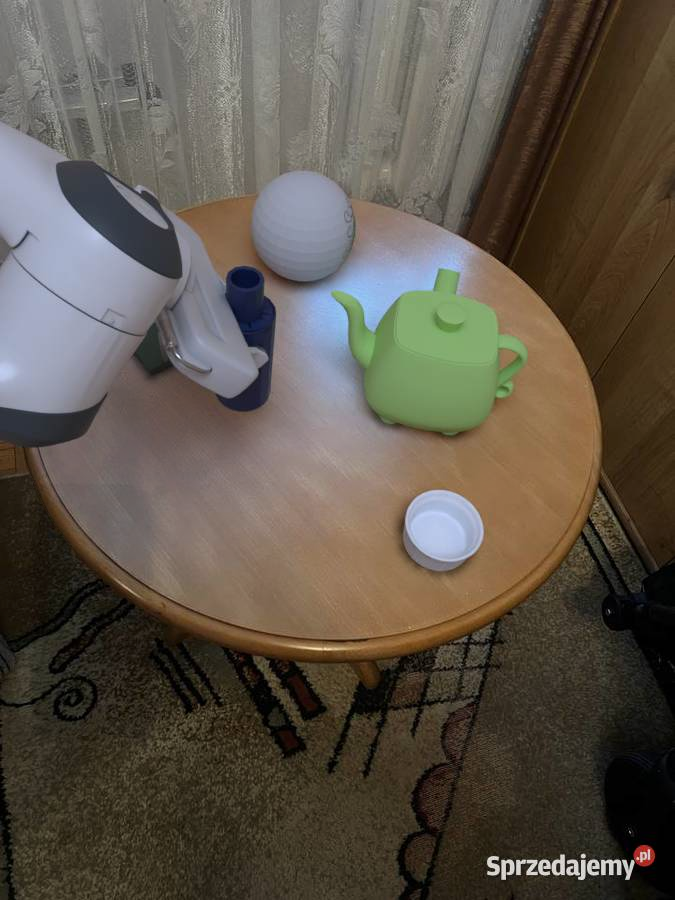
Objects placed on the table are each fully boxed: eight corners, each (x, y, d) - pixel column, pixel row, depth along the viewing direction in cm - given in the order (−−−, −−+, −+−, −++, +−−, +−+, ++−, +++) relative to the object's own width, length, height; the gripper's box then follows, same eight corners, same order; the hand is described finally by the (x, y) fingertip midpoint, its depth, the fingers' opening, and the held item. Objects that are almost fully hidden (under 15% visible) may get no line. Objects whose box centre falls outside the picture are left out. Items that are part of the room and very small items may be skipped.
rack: (150, 376, 84) (144, 342, 79) (106, 319, 89) (98, 283, 84) (242, 335, 90) (241, 300, 85) (196, 283, 95) (193, 247, 90)
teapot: (500, 341, 96) (541, 254, 83) (500, 461, 83) (547, 380, 70) (333, 308, 95) (347, 216, 82) (308, 424, 83) (320, 336, 70)
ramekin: (485, 564, 75) (498, 547, 71) (416, 586, 72) (425, 570, 69) (452, 499, 79) (462, 481, 76) (386, 518, 77) (393, 500, 73)
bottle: (244, 421, 70) (247, 311, 57) (203, 391, 72) (197, 277, 59) (280, 390, 73) (291, 279, 60) (241, 362, 75) (243, 248, 62)
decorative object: (344, 310, 95) (358, 223, 83) (242, 294, 95) (241, 205, 82) (352, 244, 104) (366, 157, 92) (258, 230, 103) (260, 140, 91)
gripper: (199, 332, 48) (309, 389, 59) (136, 172, 58) (241, 247, 69) (144, 384, 50) (260, 430, 61) (93, 221, 60) (201, 286, 71)
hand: (249, 331), depth 65 cm, fingers closed on bottle, 6 cm apart
